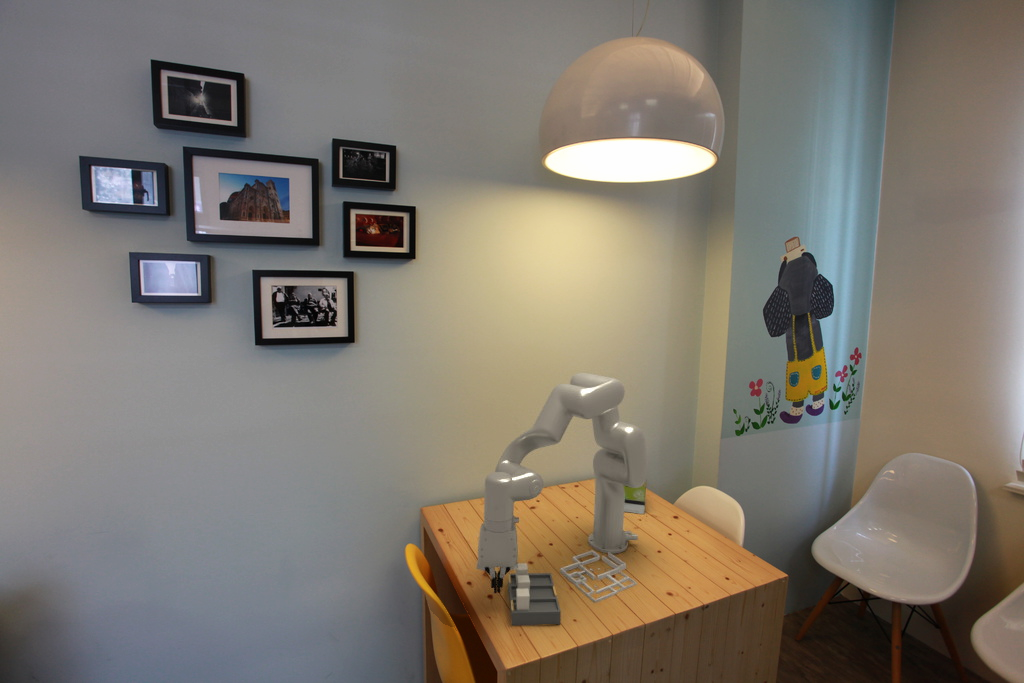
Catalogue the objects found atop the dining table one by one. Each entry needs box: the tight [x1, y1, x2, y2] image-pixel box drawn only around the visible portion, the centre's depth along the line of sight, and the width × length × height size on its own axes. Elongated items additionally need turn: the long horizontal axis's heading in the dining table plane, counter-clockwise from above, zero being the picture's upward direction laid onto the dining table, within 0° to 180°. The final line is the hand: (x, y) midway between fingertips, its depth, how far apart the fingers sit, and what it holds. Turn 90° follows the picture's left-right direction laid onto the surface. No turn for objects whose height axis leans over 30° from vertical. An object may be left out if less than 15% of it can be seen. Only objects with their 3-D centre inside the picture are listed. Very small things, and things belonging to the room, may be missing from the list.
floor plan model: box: [559, 549, 637, 604], centre depth 136 cm, size 19×25×2 cm
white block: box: [517, 575, 530, 596], centre depth 119 cm, size 3×3×4 cm
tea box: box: [623, 477, 648, 515], centre depth 178 cm, size 15×10×15 cm, turn 77°
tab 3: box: [516, 588, 530, 610], centre depth 114 cm, size 3×3×4 cm
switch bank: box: [507, 572, 562, 626], centre depth 120 cm, size 12×16×4 cm
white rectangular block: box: [515, 562, 529, 584], centre depth 125 cm, size 3×3×4 cm
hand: (496, 589), depth 119 cm, fingers closed
